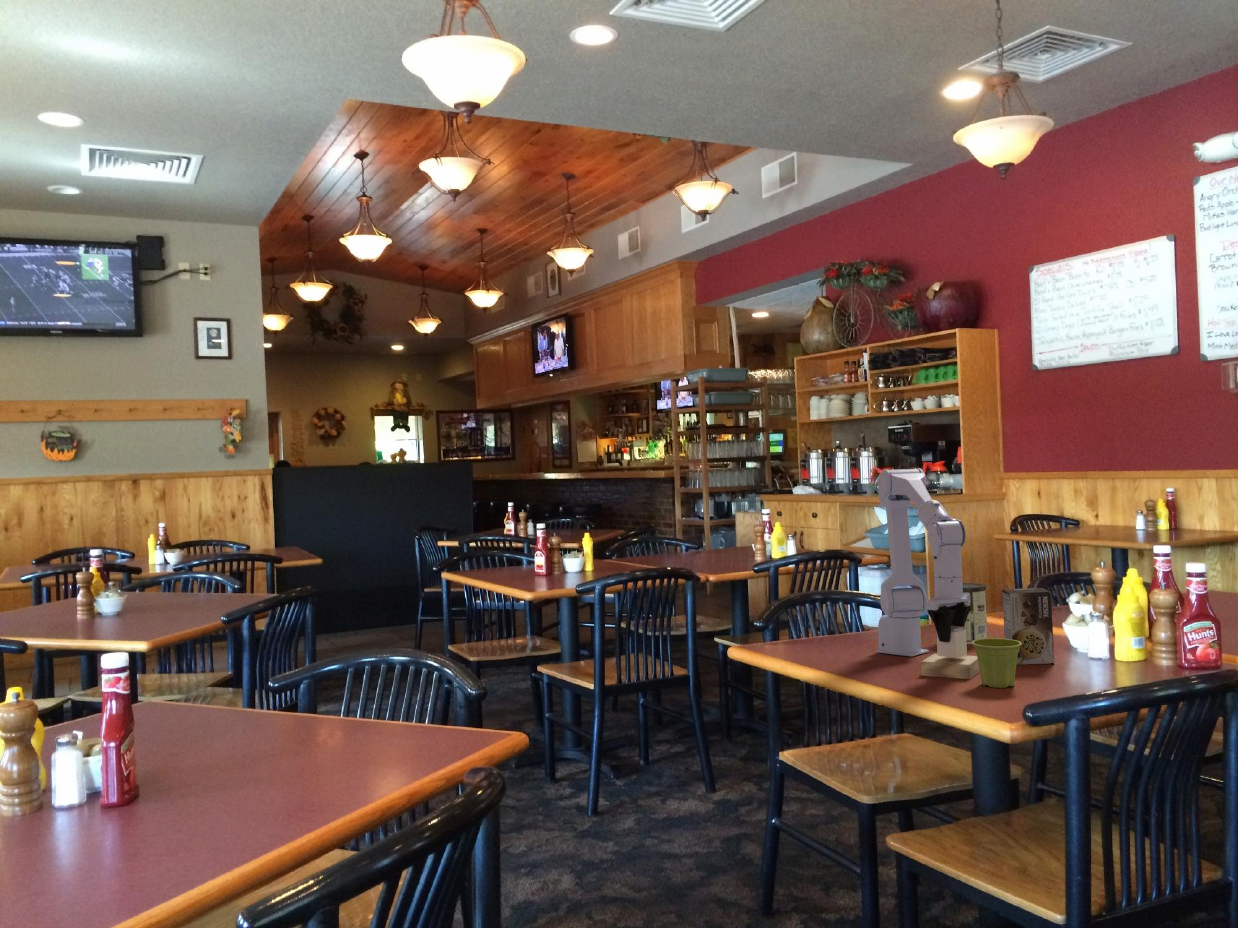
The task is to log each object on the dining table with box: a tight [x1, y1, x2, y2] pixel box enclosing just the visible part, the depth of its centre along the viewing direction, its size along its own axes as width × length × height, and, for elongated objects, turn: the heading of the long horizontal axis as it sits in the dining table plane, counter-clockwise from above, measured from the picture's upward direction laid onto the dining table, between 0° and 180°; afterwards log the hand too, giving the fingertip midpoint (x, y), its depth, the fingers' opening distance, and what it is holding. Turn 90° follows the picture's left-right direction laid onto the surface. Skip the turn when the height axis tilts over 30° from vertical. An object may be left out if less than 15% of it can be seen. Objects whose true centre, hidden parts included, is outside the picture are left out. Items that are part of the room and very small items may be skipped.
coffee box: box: [1001, 587, 1056, 666], centre depth 223 cm, size 9×6×16 cm
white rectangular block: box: [936, 626, 968, 658], centre depth 214 cm, size 4×4×6 cm
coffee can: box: [962, 582, 989, 645], centre depth 251 cm, size 10×10×14 cm
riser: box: [920, 652, 980, 680], centre depth 214 cm, size 10×10×3 cm
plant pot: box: [971, 637, 1022, 689], centre depth 201 cm, size 9×9×9 cm
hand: (950, 640), depth 214 cm, fingers closed on white rectangular block, 4 cm apart
